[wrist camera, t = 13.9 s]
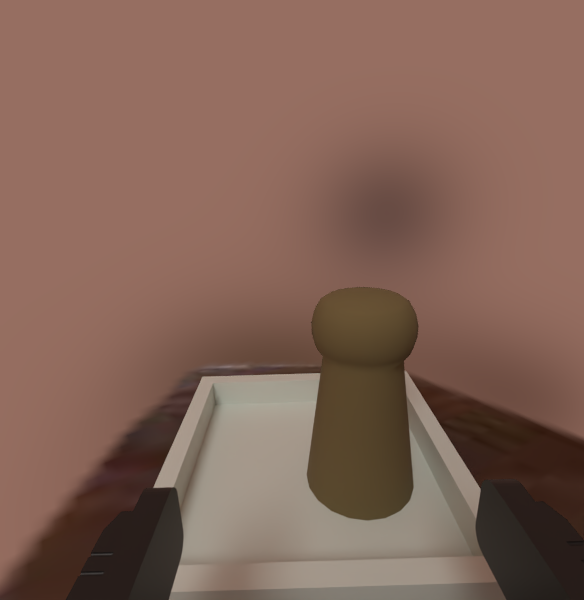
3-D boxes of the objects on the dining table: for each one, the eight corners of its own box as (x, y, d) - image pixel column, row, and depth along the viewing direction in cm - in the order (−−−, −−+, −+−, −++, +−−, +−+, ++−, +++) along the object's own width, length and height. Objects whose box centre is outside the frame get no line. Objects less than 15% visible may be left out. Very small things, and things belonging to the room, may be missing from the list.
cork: (359, 428, 25) (364, 272, 22) (436, 483, 20) (457, 294, 17) (286, 466, 22) (279, 290, 19) (357, 543, 17) (364, 324, 14)
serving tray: (403, 398, 30) (405, 370, 29) (527, 627, 14) (538, 581, 14) (205, 404, 30) (202, 376, 29) (117, 639, 14) (106, 593, 14)
